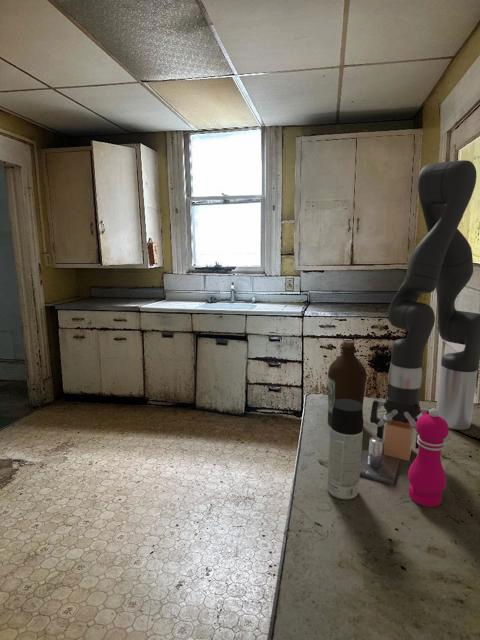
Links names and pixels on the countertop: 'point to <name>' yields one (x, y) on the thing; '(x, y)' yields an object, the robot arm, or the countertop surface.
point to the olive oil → (346, 377)
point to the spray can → (345, 448)
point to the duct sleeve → (398, 439)
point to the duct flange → (378, 463)
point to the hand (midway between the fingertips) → (398, 443)
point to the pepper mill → (428, 460)
